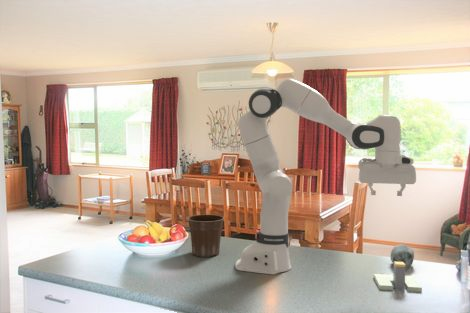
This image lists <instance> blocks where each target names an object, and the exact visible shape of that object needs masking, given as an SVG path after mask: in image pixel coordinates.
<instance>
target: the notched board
mask: <svg viewBox="0 0 470 313" xmlns="http://www.w3.org/2000/svg"><path fill="white" fill-rule="evenodd" d="M373 279H374V281H375V283H376V285H377V287H378V289H379V290H382V291H394V287H393V274H385V273H373ZM422 288H423V287H422V286H421V285H420V283H419V282H418V281H417V279H416V278H415V277H414V275H406V274H405V289H406V290H407V292H418V293H422V292H423V289H422Z"/></svg>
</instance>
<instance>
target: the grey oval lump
mask: <svg viewBox="0 0 470 313" xmlns="http://www.w3.org/2000/svg"><path fill="white" fill-rule="evenodd" d="M414 258H415V252H414V250H413V248H411V247H410V246H409V245H406V244H403V243H401V244H397V245H395V246H393V248H392V250H391V252H390V261H391V262H392V263H393V264H394V261H395V262H404V263H405V270H408V269H410V268H411V266H412V265H413V264H414V263H413V262H414V260H415V259H414Z"/></svg>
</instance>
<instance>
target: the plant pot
mask: <svg viewBox="0 0 470 313" xmlns="http://www.w3.org/2000/svg"><path fill="white" fill-rule="evenodd" d="M224 220H225V217H224V216H223V215H219V214H195V215H190V216H188V217H187V221H188V228H189V229H190V230H189V231H190V232H189V233H190V240H191V243H190V244H191V253H192V255H195V256H196V257H201V258H208V257H213V256H217V255H219V254H220V249H221V240H222V238H221V236H222V228H223V224H224Z"/></svg>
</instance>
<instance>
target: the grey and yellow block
mask: <svg viewBox="0 0 470 313" xmlns="http://www.w3.org/2000/svg"><path fill="white" fill-rule="evenodd" d="M392 275H393V290H398V291H405V289H406V287H405V275H406V269H405V263H404V262H395V261H394V263H393V274H392Z"/></svg>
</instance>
